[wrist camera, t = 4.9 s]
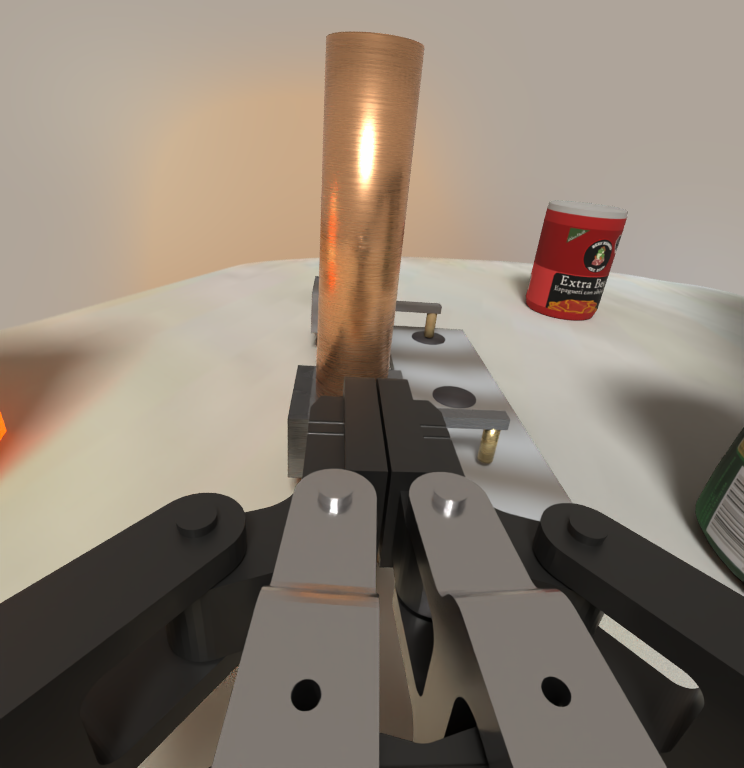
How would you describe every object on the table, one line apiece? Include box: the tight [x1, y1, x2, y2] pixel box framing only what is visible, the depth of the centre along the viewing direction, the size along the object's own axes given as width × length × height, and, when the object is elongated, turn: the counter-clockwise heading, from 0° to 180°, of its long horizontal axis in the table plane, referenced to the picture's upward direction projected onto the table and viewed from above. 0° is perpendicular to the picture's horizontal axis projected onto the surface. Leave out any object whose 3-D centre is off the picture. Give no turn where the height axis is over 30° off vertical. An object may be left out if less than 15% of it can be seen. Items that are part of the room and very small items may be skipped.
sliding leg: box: [288, 32, 510, 478], centre depth 19 cm, size 5×10×16 cm, turn 93°
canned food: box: [526, 201, 628, 320], centre depth 49 cm, size 8×8×11 cm
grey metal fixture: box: [311, 276, 572, 562], centre depth 26 cm, size 25×13×18 cm, turn 3°
